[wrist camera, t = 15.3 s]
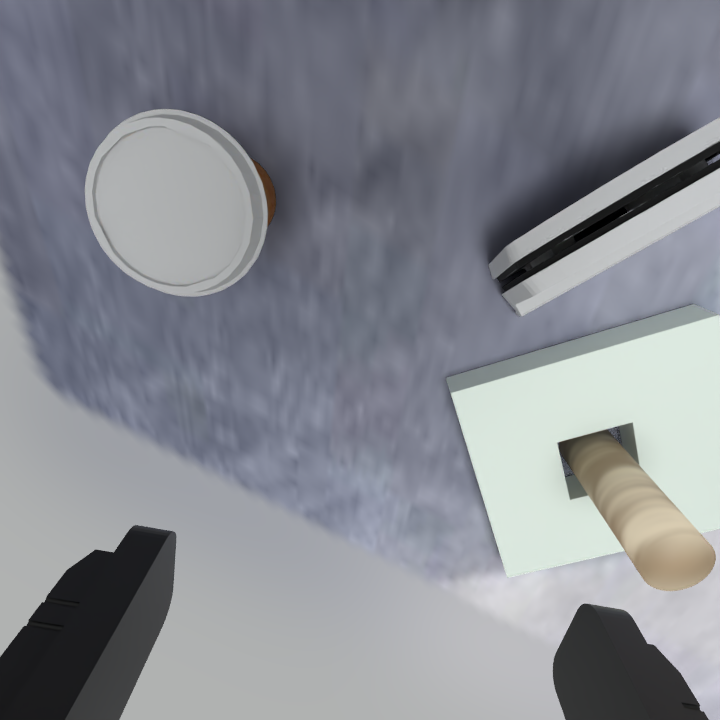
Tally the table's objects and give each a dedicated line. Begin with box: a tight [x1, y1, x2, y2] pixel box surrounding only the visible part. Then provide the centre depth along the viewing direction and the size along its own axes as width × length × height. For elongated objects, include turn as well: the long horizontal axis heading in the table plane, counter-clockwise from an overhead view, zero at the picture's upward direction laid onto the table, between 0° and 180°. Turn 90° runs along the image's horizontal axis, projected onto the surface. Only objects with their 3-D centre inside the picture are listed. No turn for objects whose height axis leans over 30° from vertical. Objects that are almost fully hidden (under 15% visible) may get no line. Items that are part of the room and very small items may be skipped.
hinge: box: [489, 118, 720, 317], centre depth 32 cm, size 17×5×10 cm, turn 123°
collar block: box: [446, 304, 720, 578], centre depth 41 cm, size 20×20×3 cm
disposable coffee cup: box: [85, 109, 276, 297], centre depth 30 cm, size 10×10×12 cm
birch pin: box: [559, 429, 716, 591], centre depth 36 cm, size 4×4×14 cm
